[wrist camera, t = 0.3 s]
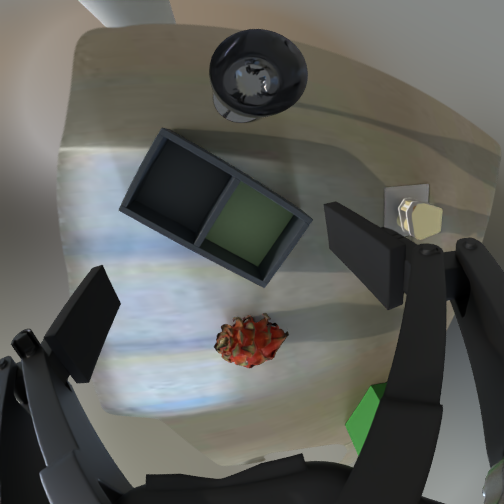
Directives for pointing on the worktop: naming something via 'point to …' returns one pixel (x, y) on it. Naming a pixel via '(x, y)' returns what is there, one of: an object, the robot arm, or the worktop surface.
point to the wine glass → (256, 75)
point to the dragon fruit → (249, 341)
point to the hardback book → (364, 415)
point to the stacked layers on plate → (411, 211)
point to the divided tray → (213, 208)
